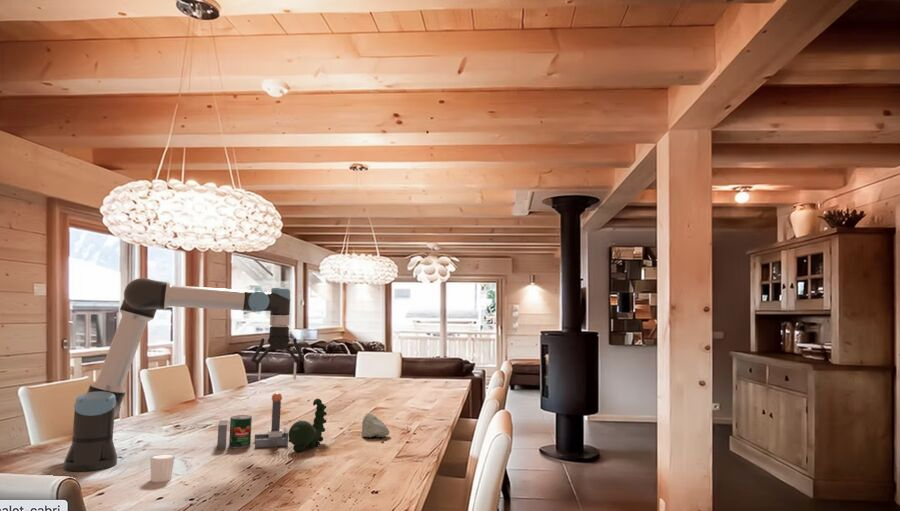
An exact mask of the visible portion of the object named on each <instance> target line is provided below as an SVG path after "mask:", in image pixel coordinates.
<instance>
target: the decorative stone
mask: <svg viewBox="0 0 900 511" xmlns="http://www.w3.org/2000/svg"><path fill="white" fill-rule="evenodd" d="M361 426H362V428H361V437H362V438H365V437H369V438H373V437H374V438H379V437H382V438H385V437H386V436H389V434H390V430H389V428H388V426H387V425H386V424H385V423H384V422H383V421H382V420H381V419H380V418H378V417H377V416H376V415H374V414H372V413H366V414H365V416H364V417H363V419H362V423H361ZM375 436H376V437H375Z"/></svg>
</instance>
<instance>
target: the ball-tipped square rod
mask: <svg viewBox="0 0 900 511" xmlns="http://www.w3.org/2000/svg"><path fill="white" fill-rule="evenodd" d="M282 400H283V396H282V394H281V393H279V392H275V393H273V394H272V396H271V401H272V404H271V406H272V408H271V409H272V410H271V424H270V425H271V426H270V427H269V428H268V429H267V434H268V439H271V438H282V433H283V429H282V427H280V426H281V406H282V405H281V404H282Z"/></svg>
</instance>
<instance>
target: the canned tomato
mask: <svg viewBox="0 0 900 511" xmlns="http://www.w3.org/2000/svg"><path fill="white" fill-rule="evenodd" d="M252 418H253V417H252V416H251V415H245V414H244V415H243V414H241V415H239V414H238V415H232V416H230V419H229V420H230V421H229V422H230V424H229V441H228V447H229V448H232V449H243V448H248V447H250V446H251V441H252V440H251V439H252V438H251V437H252V421H253V420H252Z"/></svg>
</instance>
